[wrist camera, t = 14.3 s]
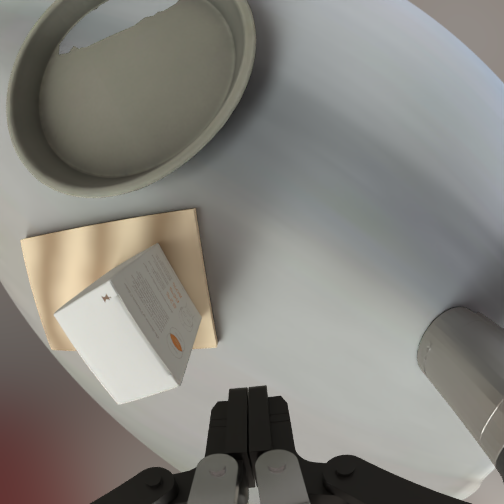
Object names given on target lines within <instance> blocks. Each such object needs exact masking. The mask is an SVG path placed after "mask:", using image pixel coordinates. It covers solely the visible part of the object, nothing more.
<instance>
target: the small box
mask: <svg viewBox="0 0 504 504" xmlns="http://www.w3.org/2000/svg"><path fill="white" fill-rule="evenodd" d="M54 317H55V318H56V320H57V321H58V323H59V325H60V326H61V328H62V329H63V331H64V332H65V334H66V336H67V337H68V339H69V340H70V342H71V343H72V344H73V346H74V347H75V349H76V350H77V352H78V353H79V355H80V356H81V357H82V359H83V360H84V362H85V363H86V364H87V366H88V367H89V368H90V370H91V371H92V372H93V374H94V375H95V376H96V378H97V379H98V380H99V381H100V383H101V384H102V385H103V387H104V388H105V389H106V390H107V392H108V393H109V394H110V395H111V397H112V398H113V399H114V400H115V401H116V403H117V404H118V405H121V404H124V403H128V402H131V401H135V400H138V399H141V398H145V397H148V396H151V395H154V394H157V393H161V392H164V391H167V390H170V389H173V388H176V387H179V386H180V385H181V383H182V380H183V377H184V373H185V370H186V367H187V364H188V361H189V357H190V354H191V351H192V348H193V345H194V341H195V338H196V335H197V332H198V329H199V325H200V322H201V319H202V317H201V315H200V314H199V312H198V310H197V309H196V307H195V305H194V304H193V302H192V301H191V299H190V297H189V295H188V294H187V292H186V291H185V289H184V287H183V285H182V284H181V282H180V280H179V279H178V277H177V275H176V273H175V272H174V270H173V268H172V267H171V265H170V263H169V261H168V260H167V258H166V256H165V254H164V252H163V251H162V249H161V247H160V245H159V244H158V243H156V244H155V245H153V246H151V247H149V248H147V249H146V250H144V251H142V252H140V253H138V254H137V255H135V256H133V257H131V258H130V259H128V260H126V261H125V262H123V263H121V264H120V265H118V266H116V267H115V268H113V269H111V270H110V271H109V272H107V273H106V274H104V275H103V276H102V277H100V278H99V279H98V280H96V281H95V282H93V283H92V284H91V285H89V286H88V287H87V288H85V289H84V290H83V291H81V292H80V293H79V294H77V295H76V296H75V297H73V298H72V299H71V300H69V301H68V302H67V303H65V304H64V305H63V306H62V307H60V308H59V309H58V310H57V311H56V312H55V313H54Z"/></svg>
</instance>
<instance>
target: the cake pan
mask: <svg viewBox="0 0 504 504" xmlns="http://www.w3.org/2000/svg"><path fill="white" fill-rule="evenodd" d="M107 1H108V0H56V1H55V2H54V3H53V4H52V5H51V6H50V7H49V8H48V9H47V10H46V11H45V12H44V13H43V15H42V16H41V17H40V18H39V20H38V21H37V22H36V23H35V25H34V26H33V28H32V29H31V31H30V32H29V34H28V36H27V37H26V39H25V41H24V43H23V44H22V46H21V48H20V51H19V53H18V55H17V58H16V60H15V63H14V66H13V69H12V72H11V76H10V80H9V84H8V91H7V100H6V114H7V123H8V129H9V134H10V137H11V141H12V143H13V146H14V148H15V151H16V153H17V155H18V156H19V158H20V160H21V161H22V163H23V164H24V166H25V167H26V168H27V169H28V170H29V172H30V173H31V174H32V175H33V176H34V177H35V178H37V179H38V180H39V181H40V182H41V183H43V184H45V185H46V186H48V187H50V188H52V189H54V190H56V191H58V192H61V193H64V194H67V195H72V196H77V197H85V198H103V197H110V196H116V195H121V194H125V193H128V192H132V191H136V190H139V189H141V188H143V187H146V186H148V185H150V184H152V183H154V182H156V181H158V180H160V179H162V178H164V177H165V176H167V175H169V174H170V173H172V172H173V171H174V170H176V169H177V168H179V167H181V166H182V165H183V164H185V163H186V162H187V161H188V160H189V159H191V158H192V157H194V156H195V155H196V154H197V153H198V152H199V151H200V150H201V149H202V148H203V147H204V146H205V145H206V144H207V143H208V142H209V141H210V140H211V139H212V138H213V137H214V136H215V135H216V134H217V132H218V131H219V130H220V129H221V128H222V127H223V126H224V124H225V123H226V121H227V120H228V119H229V117H230V115H231V114H232V112H233V111H234V109H235V108H236V106H237V104H238V103H239V101H240V99H241V97H242V95H243V92H244V90H245V89H246V86H247V83H248V81H249V77H250V74H251V72H252V68H253V63H254V58H255V51H256V30H255V23H254V19H253V14H252V11H251V9H250V6H249V4H248V2H247V0H179V1H178V2H177V3H176V4H175V5H173V6H171V7H169V8H168V9H166V10H164V11H161V12H158V13H156V14H155V15H154V16H150V17H146V18H144V19H142V20H141V21H140V22H139V23H137V24H136V25H135V26H132V27H130V28H128V29H125V30H123V31H121V32H118V33H116V34H114V35H112V36H109V37H107V38H105V39H103V40H100V41H98V42H96V43H94V44H92V45H90V46H88V47H86V48H80V49H78V48H76V47H74V46H73V48H72V49H71V51H70V52H69V53H66V54H60V55H59V44H60V43H61V41H62V40H63V39H64V37H65V36H66V35H67V33H68V32H69V31H70V30H71V29H72V28H73V27H74V26H75V25H76V24H77V23H78V22H79V21H80V20H81V19H82V18H83V17H84V16H86V15H87V14H88V13H89V12H91V11H92V10H95V9H97V8H98V6H100V5H101V4H103V3H105V2H107Z"/></svg>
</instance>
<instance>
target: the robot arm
mask: <svg viewBox="0 0 504 504" xmlns="http://www.w3.org/2000/svg"><path fill="white" fill-rule="evenodd" d="M417 361H418V365H419V367H420V369H421V370H422V372H423V373H424V374H425V375H426V377H427V378H428V379H429V380H430V381H431V383H432V384H433V385H434V386H435V388H436V389H437V390H438V392H439V393H440V394H441V395H442V397H443V398H444V399H445V401H446V402H447V403H448V404H449V406H450V407H451V408H452V409H453V411H454V412H455V413H456V415H457V416H458V417H459V419H460V420H461V421H462V422H463V424H464V425H465V426H466V428H467V429H468V430H469V432H470V433H471V434H472V436H473V437H474V438H475V440H476V441H477V442H478V444H479V445H480V447H481V448H482V449H483V450H484V452H485V453H486V455H487V456H488V457H489V459H490V460H491V462H492V463H493V464H494V466H495V467H496V469H497V470H498V472H499V473H500V475H501V476H502V478H503V482H504V329H503V328H502V327H500V326H499V325H497V324H496V323H495V322H493V321H492V320H490V319H489V318H487V317H486V316H484V315H483V314H481V313H480V312H477V313H474V312H472V311H471V310H469V309H467V308H464V307H456V308H452V309H450V310H448V311H446V312H444V313H443V314H441V315H440V316H438V317H437V318H436V319H435V320H434V321H433V322H432V324H431V325H430V326H429V327H428V329H427V330H426V332H425V333H424V335H423V337H422V339H421V342H420V344H419V348H418V352H417ZM255 480H256V485H257V487H258V490H259V497H260V504H471V503H468V502H464V501H462V500H459V499H456V498H453V497H450V496H447V495H444V494H441V493H439V492H436V491H433V490H431V489H428V488H426V487H423V486H421V485H418V484H416V483H413V482H411V481H408V480H406V479H404V478H401V477H399V476H397V475H394V474H392V473H390V472H388V471H386V470H383V469H381V468H379V467H377V466H375V465H373V464H371V463H369V462H367V461H365V460H363V459H361V458H359V457H356V456H353V455H340V456H337V457H334V458H332V459H331V460H329V461H328V462H327V463H316V462H310V461H307V460H304V459H303V458H301V457H300V456H299V455H298V454H297V452H296V450H295V446H294V440H293V434H292V428H291V422H290V416H289V410H288V404H287V402H286V401H285V400H284V399H283V398H282V397H281V396H275V397H268V394H267V386H266V385H265V386H256V387H249V392H248V388H247V387H246V388H235V389H229V399H228V401H219V402H217V403H216V405H215V406H214V407H213V409H212V410H211V417H210V424H209V431H208V438H207V446H206V453H205V458H203V459H202V460H201V461H200V462H199V463H198V465H197V467H196V468H194V469H192V470H190V471H186V472H182V473H178V474H172V473H171V472H170V471H168V470H166V469H164V468H161V467H152V468H148V469H146V470H143V471H142V472H140V473H139V474H137V475H136V476H134V477H133V478H131V479H130V480H128V481H126V482H125V483H123V484H122V485H120V486H119V487H117V488H115V489H114V490H112V491H110V492H109V493H107V494H105V495H104V496H102V497H100V498H99V499H97V500H95V501H94V502H92V503H90V504H249V502H248V499H249V488H252V487H255Z"/></svg>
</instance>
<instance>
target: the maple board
mask: <svg viewBox="0 0 504 504" xmlns="http://www.w3.org/2000/svg"><path fill="white" fill-rule="evenodd" d="M20 241H21V247H22V251H23V256H24V261H25V265H26V269H27V273H28V277H29V281H30V285H31V289H32V292H33V296H34V299H35V303H36V306H37V309H38V312H39V316H40V319H41V322H42V325H43V328H44V330H45V333H46V336H47V339H48V342H49V344H50V347H51V349H52V350H65V351H77V350H76V349H75V347H74V346H73V344H72V343H71V342H70V340H69V339H68V337H67V336H66V334H65V332H64V331H63V329H62V328H61V326H60V325H59V323H58V321H57V320H56V318H55V317H54V313H55V312H56V311H57V310H58V309H59V308H60V307H62V306H63V305H64V304H65V303H67V302H68V301H69V300H71V299H72V298H73V297H75V296H76V295H77V294H79V293H80V292H81V291H83V290H84V289H85V288H87V287H88V286H89V285H91V284H92V283H93V282H95V281H96V280H98V279H99V278H100V277H102V276H103V275H104V274H106V273H107V272H109V271H110V270H111V269H113V268H115V267H116V266H118V265H120V264H121V263H123V262H125V261H126V260H128V259H130V258H131V257H133V256H135V255H137V254H138V253H140V252H142V251H144V250H146V249H147V248H149V247H151V246H153V245H155V244H156V243H158V244H159V245H160V247H161V249H162V251H163V252H164V254H165V256H166V258H167V260H168V261H169V263H170V265H171V267H172V268H173V270H174V272H175V273H176V275H177V277H178V279H179V280H180V282H181V284H182V285H183V287H184V289H185V291H186V292H187V294H188V295H189V297H190V299H191V301H192V302H193V304H194V305H195V307H196V309H197V310H198V312H199V314H200V315H201V317H202V319H201V322H200V325H199V329H198V332H197V335H196V338H195V341H194V345H193V348H192V349H201V348H216V347H217V344H218V340H217V335H216V330H215V324H214V319H213V313H212V308H211V302H210V296H209V291H208V285H207V279H206V273H205V266H204V260H203V254H202V247H201V241H200V234H199V227H198V220H197V213H196V208H192V209H185V210H178V211H171V212H165V213H158V214H152V215H146V216H139V217H133V218H127V219H122V220H116V221H110V222H105V223H99V224H94V225H88V226H83V227H78V228H73V229H68V230H63V231H58V232H53V233H48V234H43V235H39V236H34V237H29V238H25V239H22V240H20Z"/></svg>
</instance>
